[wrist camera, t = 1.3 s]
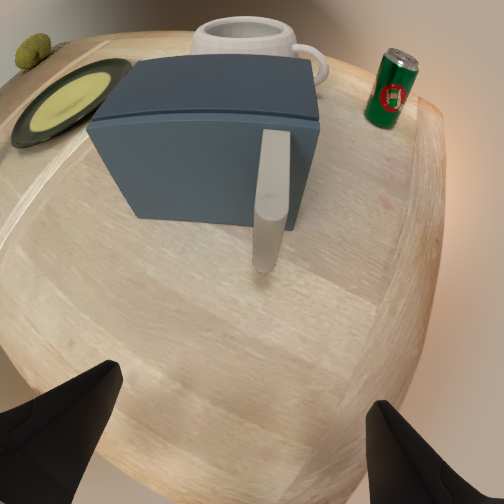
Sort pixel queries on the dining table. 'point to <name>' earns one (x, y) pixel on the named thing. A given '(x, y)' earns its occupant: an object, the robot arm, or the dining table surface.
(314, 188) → the dining table surface
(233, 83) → the cabinet
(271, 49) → the mug
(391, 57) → the soda can
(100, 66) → the plate
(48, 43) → the fruit
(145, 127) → the cabinet door
